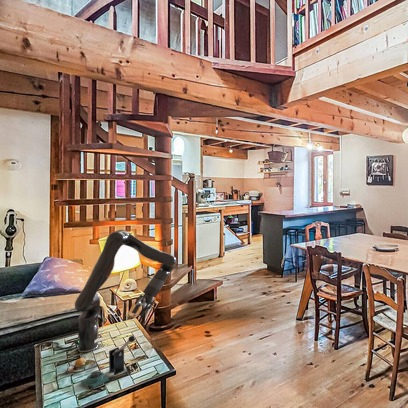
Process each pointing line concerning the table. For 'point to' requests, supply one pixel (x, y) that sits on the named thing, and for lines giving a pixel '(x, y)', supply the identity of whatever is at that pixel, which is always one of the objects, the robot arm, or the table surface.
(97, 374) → the button
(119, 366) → the bracket
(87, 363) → the burger
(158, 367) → the table surface
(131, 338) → the lever
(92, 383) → the button box
